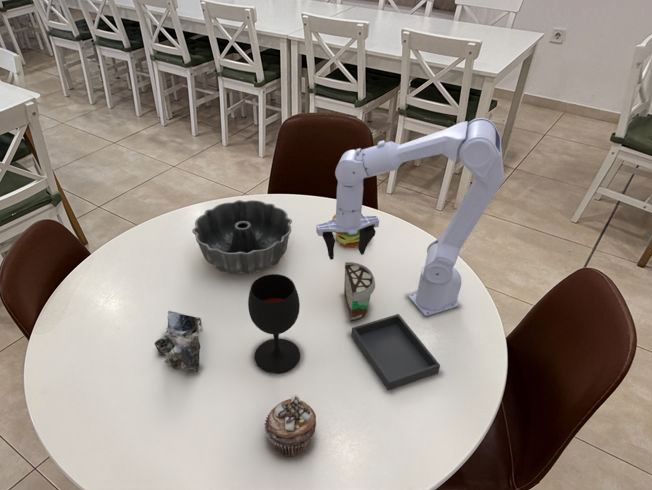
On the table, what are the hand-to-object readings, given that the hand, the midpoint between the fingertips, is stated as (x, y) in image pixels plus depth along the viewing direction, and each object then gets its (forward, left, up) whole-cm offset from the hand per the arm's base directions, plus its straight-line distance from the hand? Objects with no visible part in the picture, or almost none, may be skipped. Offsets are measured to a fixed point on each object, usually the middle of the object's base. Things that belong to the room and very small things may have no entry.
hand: (346, 254), depth 120 cm
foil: (+43, +6, -11) cm, 45 cm away
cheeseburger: (-11, -18, -11) cm, 24 cm away
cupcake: (+29, +37, -11) cm, 48 cm away
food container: (0, +8, -11) cm, 14 cm away
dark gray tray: (0, +25, -10) cm, 27 cm away
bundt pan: (+19, -23, -11) cm, 32 cm away
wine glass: (+24, +16, -11) cm, 30 cm away
